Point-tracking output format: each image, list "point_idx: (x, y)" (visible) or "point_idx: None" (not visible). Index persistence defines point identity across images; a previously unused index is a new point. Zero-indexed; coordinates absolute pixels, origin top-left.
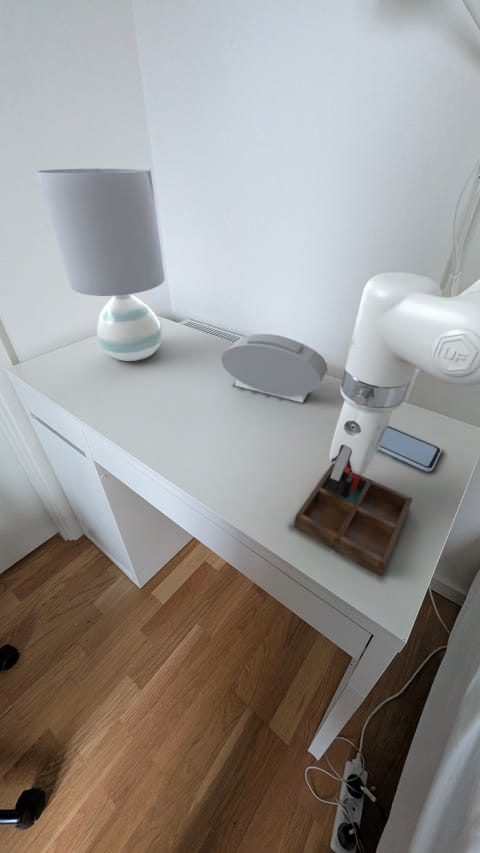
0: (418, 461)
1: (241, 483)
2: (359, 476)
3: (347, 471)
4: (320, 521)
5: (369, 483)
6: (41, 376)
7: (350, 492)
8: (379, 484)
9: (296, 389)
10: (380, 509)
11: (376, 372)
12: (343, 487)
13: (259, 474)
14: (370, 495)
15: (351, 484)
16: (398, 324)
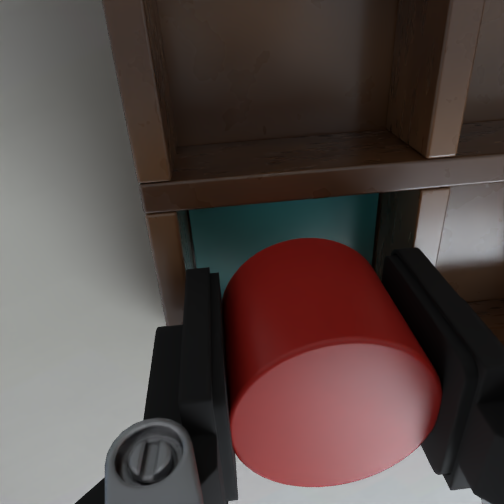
0: None
1: (429, 489)
2: (357, 329)
3: (374, 412)
4: (497, 244)
5: (181, 190)
6: None
7: (352, 250)
8: (137, 129)
9: None
10: (244, 20)
11: None
12: (502, 346)
13: (361, 481)
14: (178, 124)
15: (487, 335)
16: None
